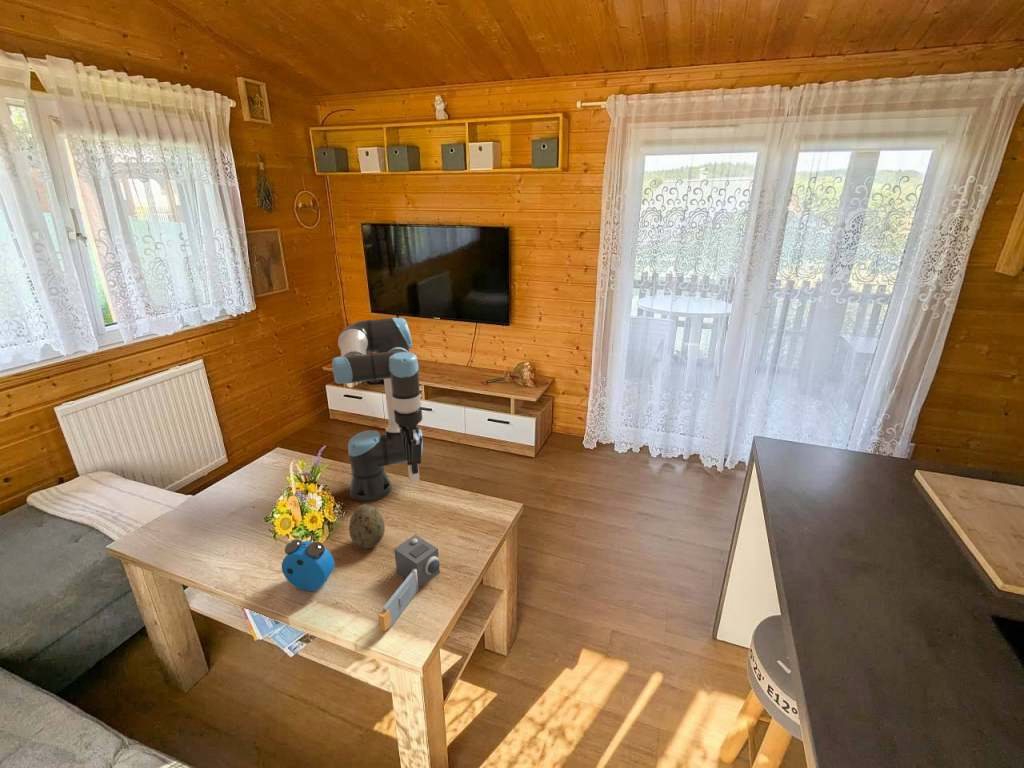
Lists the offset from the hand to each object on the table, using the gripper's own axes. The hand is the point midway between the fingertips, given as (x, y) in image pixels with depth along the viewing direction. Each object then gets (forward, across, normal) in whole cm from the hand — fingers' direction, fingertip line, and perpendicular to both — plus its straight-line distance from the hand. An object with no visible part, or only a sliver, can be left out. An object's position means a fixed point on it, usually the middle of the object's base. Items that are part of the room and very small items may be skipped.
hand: (414, 480), depth 141 cm
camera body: (+26, -8, +4) cm, 28 cm away
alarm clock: (+27, +4, +32) cm, 42 cm away
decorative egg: (+27, +12, +13) cm, 32 cm away
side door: (+26, -19, +13) cm, 35 cm away
